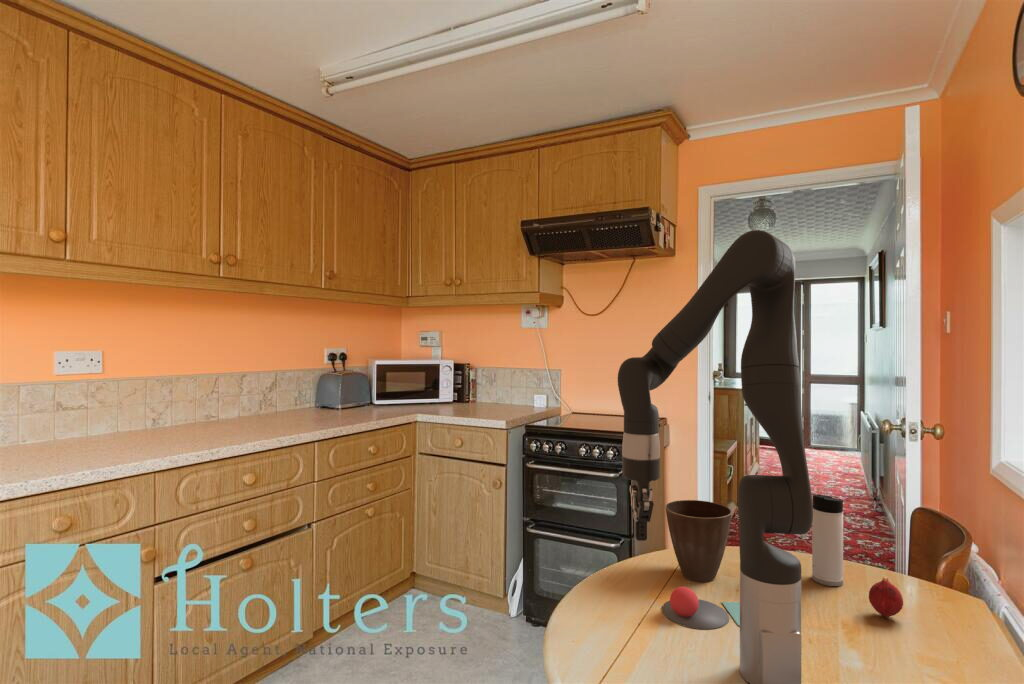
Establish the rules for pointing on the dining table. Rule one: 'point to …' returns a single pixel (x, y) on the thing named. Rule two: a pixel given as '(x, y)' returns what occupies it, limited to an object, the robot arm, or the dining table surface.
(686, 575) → the plant pot
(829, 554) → the travel mug
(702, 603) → the disc
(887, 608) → the onion
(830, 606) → the dining table surface
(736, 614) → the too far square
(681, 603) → the ball
